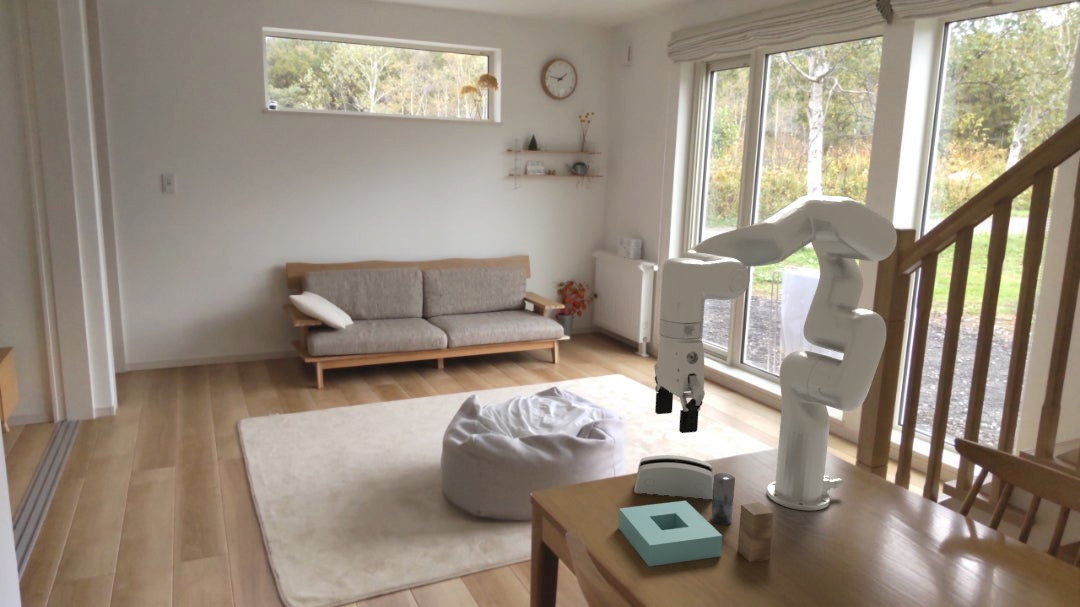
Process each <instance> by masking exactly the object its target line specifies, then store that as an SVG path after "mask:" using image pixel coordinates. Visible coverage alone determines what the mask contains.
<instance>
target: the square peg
mask: <svg viewBox="0 0 1080 607" xmlns="http://www.w3.org/2000/svg"><path fill="white" fill-rule="evenodd" d="M774 514H775V513H774V511H773V510H771V508H769V507H767V506H766V505H765V504H764V503H763V502H761V501H760V502H753V503H752V502H750V503H746V504H740V515H739V527H738V529H739V530H738V541H737V552H738V553H739V554H741V556H743V558H745V560H747V561H748V563H752V562H760V561H767V560H770V558H771V548H772V546H771V545H772V537H773V536H772V534H773V525H774V524H773V523H774Z"/></svg>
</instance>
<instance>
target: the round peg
mask: <svg viewBox="0 0 1080 607" xmlns="http://www.w3.org/2000/svg"><path fill="white" fill-rule="evenodd" d="M735 486H736V477H735V476H734V475H731V474H729V473H724V472H722V473H716V474H713V497H712V500H711V515H710V520H712V523H714V524H716V525H717V526H718V525H719V526H728V525H731V524H732V523H733V521H732V520H733V513H734V512H733V509H734V500H735V497H734V496H735Z"/></svg>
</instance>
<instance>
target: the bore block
mask: <svg viewBox="0 0 1080 607" xmlns="http://www.w3.org/2000/svg"><path fill="white" fill-rule="evenodd" d="M617 526H618V529H619V530H620V532H621V533H622V534H623V536H624V537H625V539H627V540H628V542H629V543H630V545H631V546H632V547H633V548H634V550H636V552H637V553H638V555H639V556H640V558H642V560H643V561H644V562H645V564H646V565H647V566H648V567H654V566H655V567H656V566H660V565H661V566H662V565H669V564H675V563H683V562H690V561H697V560H703V559H711V558H718V557H721V556H722V543H723V534H721V533H720V532H719V531H718V530H717V529H716V528H715V526H713V525H712V524H711V523H710V522H708V520H707V519H706V518H704V516H702V514H700V513H699V511H697V509H695V507H693V506H692V505H691V504H690V503H689V502H688V501H687V500H679V501H671V502H662V503H655V504H645V505H636V506H630V507H629V506H628V507H621V508H619V509H618V525H617Z"/></svg>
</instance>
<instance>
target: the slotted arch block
mask: <svg viewBox="0 0 1080 607" xmlns="http://www.w3.org/2000/svg"><path fill="white" fill-rule="evenodd" d="M713 482H714V474H713V467H712V465H711V464H710V463H709V462H707V461H704V460H701V459H697V458H695V457H694V458H693V457H689V456H684V455H683V456H682V455H673V454H670V455H669V454H664V455H662V454H661V455H653V456H652V455H651V456H647V457H646V456H645V457H643V458H641V459H640V461H639V464H638V469H637V473H636V476H635V480H634V488H633V489H634V493H635V494H642V493H647V494H646V495H653V494H658V495H657V496H664V495H669V496H668V497H675V496H683V497H682V498H687V497H695V498H694V499H698V498H703V499H702V500H709V499H712V497H713Z"/></svg>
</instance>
